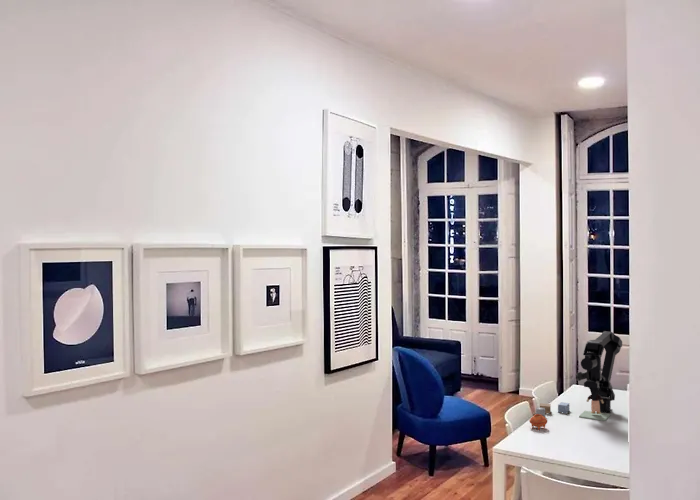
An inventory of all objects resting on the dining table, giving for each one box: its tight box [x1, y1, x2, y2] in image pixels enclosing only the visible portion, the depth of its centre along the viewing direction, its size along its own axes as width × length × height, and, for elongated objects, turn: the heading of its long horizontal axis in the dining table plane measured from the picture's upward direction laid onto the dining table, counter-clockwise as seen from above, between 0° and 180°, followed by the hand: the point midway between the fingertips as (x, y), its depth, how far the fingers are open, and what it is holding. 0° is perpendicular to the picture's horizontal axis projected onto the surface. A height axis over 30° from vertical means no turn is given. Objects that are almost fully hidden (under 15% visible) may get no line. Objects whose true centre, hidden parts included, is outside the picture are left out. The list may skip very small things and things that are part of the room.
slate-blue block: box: [557, 401, 570, 414], centre depth 312 cm, size 6×4×4 cm, turn 147°
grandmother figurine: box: [586, 394, 604, 414], centre depth 303 cm, size 8×4×13 cm, turn 84°
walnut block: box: [539, 403, 552, 414], centre depth 310 cm, size 5×5×4 cm
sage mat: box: [578, 410, 611, 422], centre depth 303 cm, size 12×12×1 cm
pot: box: [528, 413, 548, 431], centre depth 283 cm, size 8×8×7 cm
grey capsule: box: [535, 407, 546, 418], centre depth 302 cm, size 4×4×4 cm
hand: (594, 398), depth 303 cm, fingers closed on grandmother figurine, 3 cm apart
